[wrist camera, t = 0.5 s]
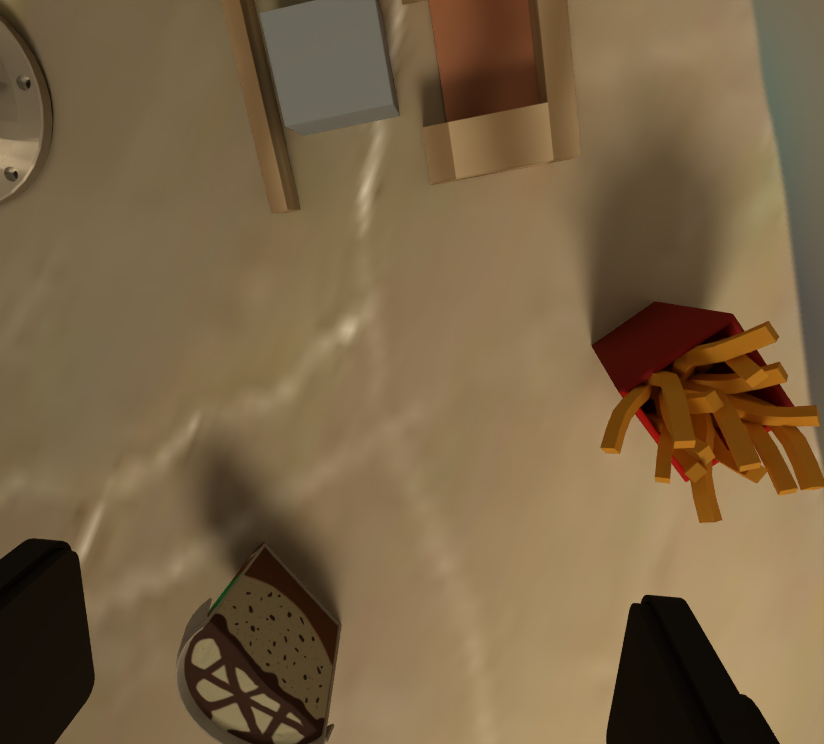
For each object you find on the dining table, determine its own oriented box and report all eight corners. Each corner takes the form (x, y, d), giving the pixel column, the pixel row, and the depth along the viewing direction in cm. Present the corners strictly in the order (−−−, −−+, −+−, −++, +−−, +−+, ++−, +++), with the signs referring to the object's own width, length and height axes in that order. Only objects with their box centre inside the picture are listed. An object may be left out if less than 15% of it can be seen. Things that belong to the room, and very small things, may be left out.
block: (304, 135, 35) (284, 126, 31) (283, 37, 33) (259, 12, 29) (399, 116, 34) (393, 103, 30) (382, 15, 33) (373, -14, 29)
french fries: (659, 280, 36) (801, 330, 22) (726, 378, 38) (900, 485, 23) (545, 361, 38) (604, 457, 24) (613, 451, 40) (708, 592, 25)
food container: (194, 567, 44) (125, 667, 35) (252, 528, 43) (196, 620, 34) (296, 672, 47) (257, 793, 37) (353, 637, 45) (328, 753, 36)
